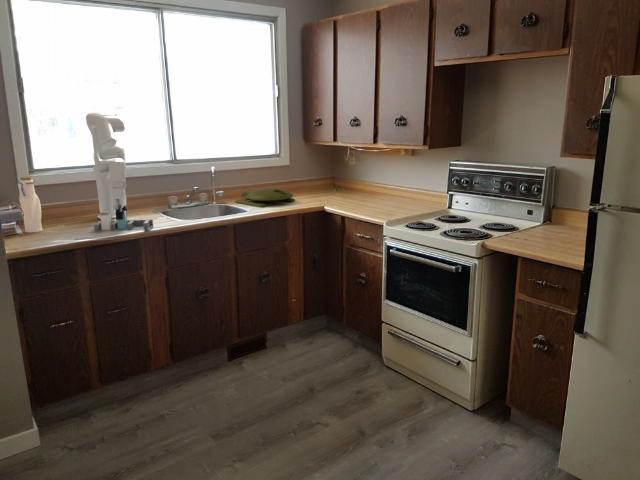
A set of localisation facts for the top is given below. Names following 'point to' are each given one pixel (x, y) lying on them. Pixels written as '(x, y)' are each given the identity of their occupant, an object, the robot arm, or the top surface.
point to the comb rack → (131, 225)
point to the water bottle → (30, 205)
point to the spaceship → (265, 196)
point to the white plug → (105, 220)
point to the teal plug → (123, 221)
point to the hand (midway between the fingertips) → (121, 217)
